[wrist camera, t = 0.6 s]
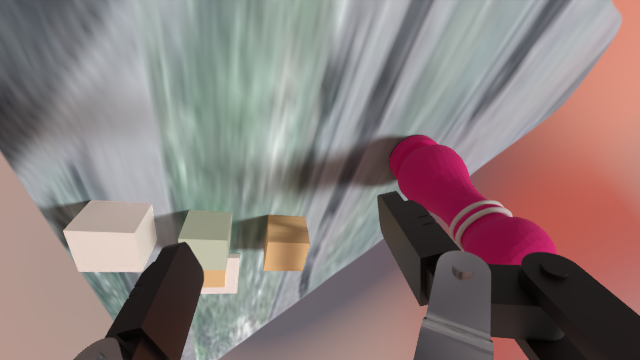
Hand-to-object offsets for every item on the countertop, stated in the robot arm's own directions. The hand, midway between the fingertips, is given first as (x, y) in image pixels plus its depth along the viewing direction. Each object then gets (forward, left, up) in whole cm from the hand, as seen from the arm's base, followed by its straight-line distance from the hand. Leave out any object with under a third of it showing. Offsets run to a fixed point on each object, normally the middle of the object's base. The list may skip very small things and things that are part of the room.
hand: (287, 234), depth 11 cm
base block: (-2, -23, -19) cm, 30 cm away
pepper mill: (+17, +7, -19) cm, 26 cm away
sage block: (+6, -18, -19) cm, 27 cm away
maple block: (+13, -12, -19) cm, 26 cm away
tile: (+11, -25, -19) cm, 33 cm away
